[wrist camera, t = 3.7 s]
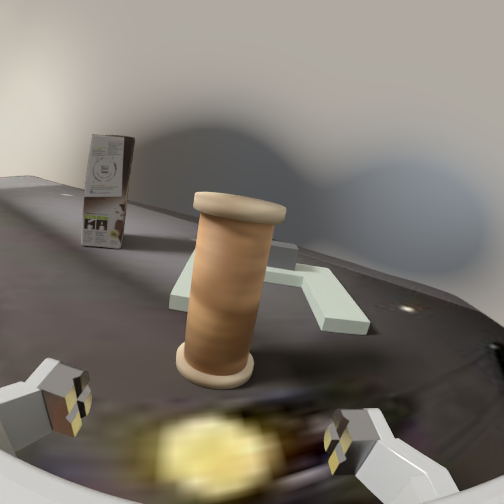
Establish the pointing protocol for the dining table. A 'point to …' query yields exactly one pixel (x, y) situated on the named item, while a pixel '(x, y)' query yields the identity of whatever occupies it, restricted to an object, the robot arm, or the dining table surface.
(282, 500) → the dining table surface
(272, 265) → the notched board
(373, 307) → the dining table surface
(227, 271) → the bobbin
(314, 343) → the dining table surface
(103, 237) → the coffee box
